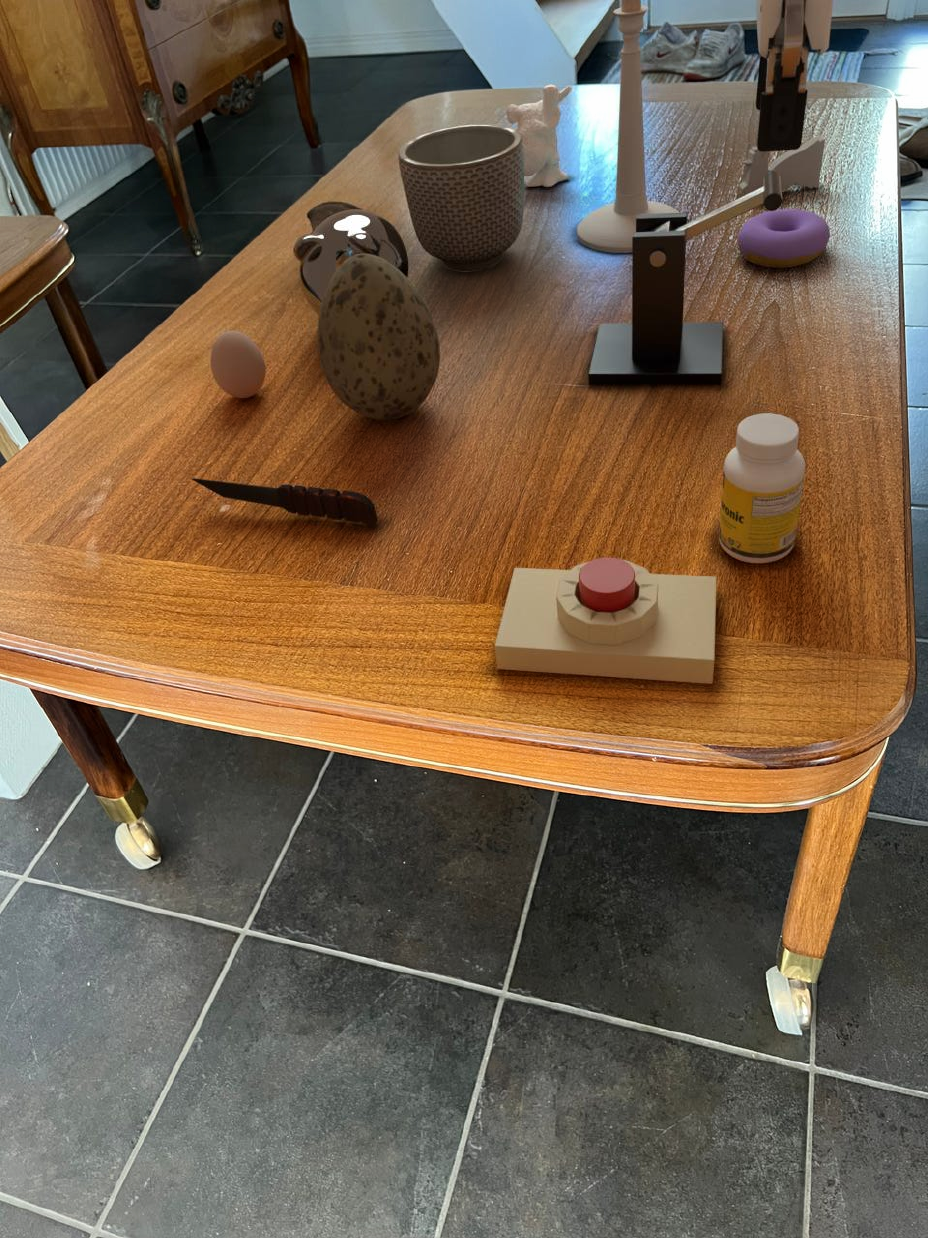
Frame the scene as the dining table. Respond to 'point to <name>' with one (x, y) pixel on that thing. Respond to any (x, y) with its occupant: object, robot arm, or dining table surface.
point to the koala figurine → (540, 136)
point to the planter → (465, 192)
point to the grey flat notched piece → (785, 166)
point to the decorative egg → (377, 339)
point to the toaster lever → (734, 208)
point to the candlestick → (625, 150)
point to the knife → (301, 500)
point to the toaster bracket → (658, 319)
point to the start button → (607, 584)
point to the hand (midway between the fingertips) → (776, 127)
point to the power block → (610, 627)
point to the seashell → (327, 211)
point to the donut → (783, 238)
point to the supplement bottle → (762, 490)
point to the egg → (237, 364)
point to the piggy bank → (345, 248)
